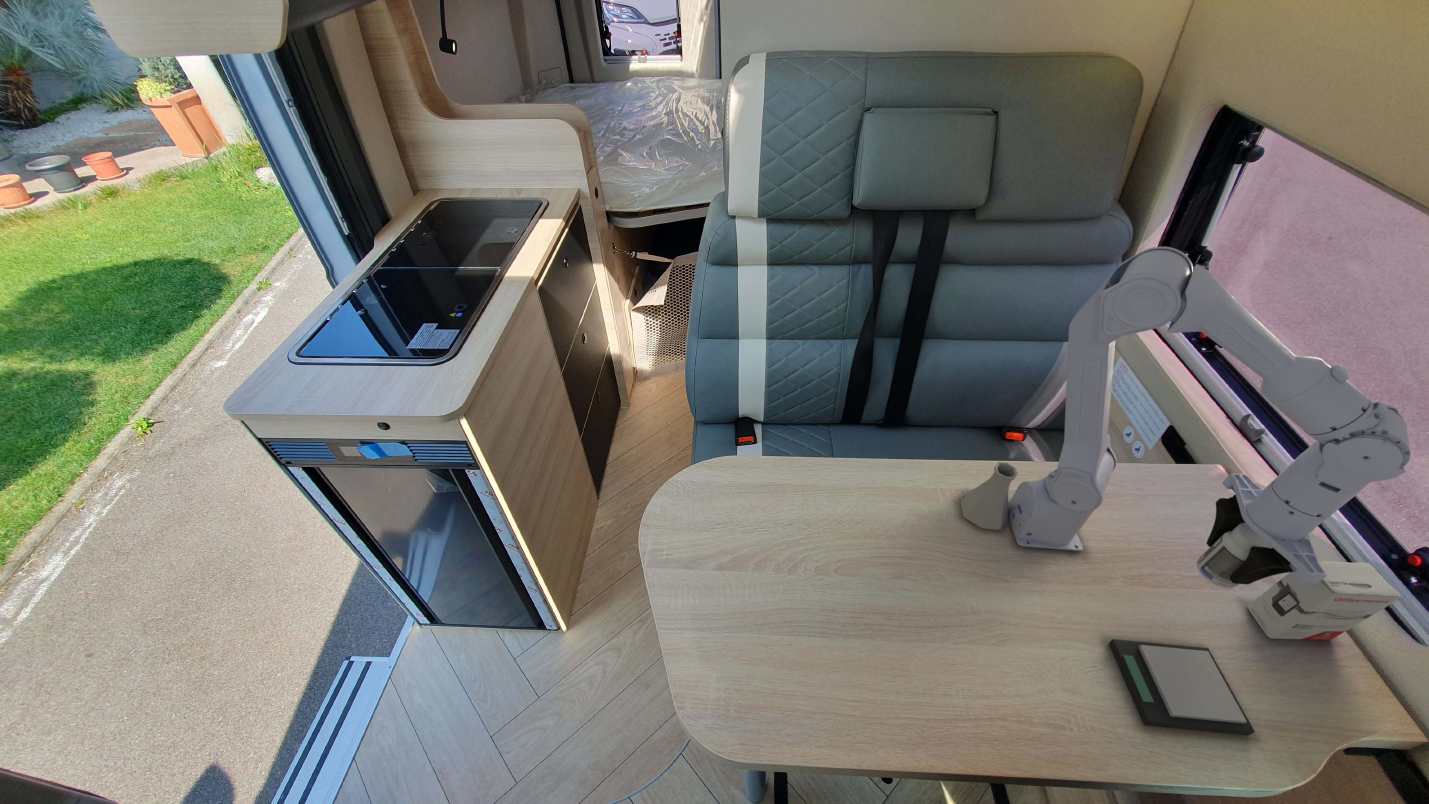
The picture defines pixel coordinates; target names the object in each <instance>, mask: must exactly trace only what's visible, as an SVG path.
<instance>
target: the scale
mask: <svg viewBox="0 0 1429 804" xmlns="http://www.w3.org/2000/svg"><path fill="white" fill-rule="evenodd" d="M1108 644H1109V647H1110V649H1111V652H1112V654H1113V656H1114V659H1115V661H1116V663H1117V665H1118V669H1119V671H1120V673H1121V675H1122V677H1123V679H1124V682H1125V685H1126V687H1127V689H1128V691H1129V694H1130V696H1131V698H1132V701H1133V703H1134V705H1135V708H1136V710H1137V712H1138V714H1139V717H1140V719H1141V721H1142V724H1143V726H1148V727H1149V726H1150V727H1161V728H1162V727H1163V728H1171V729H1181V730H1190V731H1201V732H1212V733H1221V734H1231V735H1241V736H1251V735H1252V734H1254V733H1256V731H1255V730H1254V727H1253V726H1252V724H1251V722H1250V720H1249V718H1248V717H1247V715H1246V714H1245V713H1246V712H1245V711H1244V710H1243V708H1242V706H1241V704H1240V703H1239V701H1238V699H1237V697H1236V695H1235V694H1234V692H1233V690H1232V688H1231V686H1230V684H1229V683H1228V681H1227V679H1226V678H1225V676H1224V673H1223V672H1222V670H1221V668H1220V666H1219V665H1218V663H1217V660H1216V659H1215V658H1214V656H1213V654H1212V652H1211V650H1210V649H1209V648H1208V647H1203V646H1194V645H1193V646H1192V645H1183V644H1172V643H1160V642H1150V641H1149V642H1148V641H1139V640H1129V639H1117V638H1112V639H1111V640H1110V641H1109V642H1108Z"/></svg>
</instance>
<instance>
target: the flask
mask: <svg viewBox="0 0 1429 804" xmlns="http://www.w3.org/2000/svg"><path fill="white" fill-rule="evenodd" d="M993 470H994V472H993V474H992V475H991V476H990V477H989V478H988V479H987V480H985V481H984V482H982V483H981V484H980V485H978V486H976V487H975V488H973V489H971V490H969V492H967V494H966V495H965V496H964V498H962V500H961V501H960V508H961V512H962V516H963V518H964V519H966V520H968V521H969V522H971V523H973V524H974V525H975V526H977V527H979V528H980V529H986V530H995V531H1001V530H1002V528H1004V527H1005V525H1006V523H1007V521H1009V518H1008V503H1009V491H1010V487H1011V483H1012V482H1013V481H1014V480H1015V479H1016V478H1017V476H1018V474H1019V473H1018V470H1017V468H1016V466H1014V465H1011V463H1008V462H1002V461H998V462H997V463H996V464H995V465H994V467H993Z"/></svg>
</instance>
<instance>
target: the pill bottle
mask: <svg viewBox="0 0 1429 804" xmlns="http://www.w3.org/2000/svg"><path fill="white" fill-rule="evenodd" d="M1252 546H1255V547H1268V548H1273V547H1272V546H1271V545H1270V544H1268V543H1267V542H1266V541H1265V540H1264V539H1263V538H1261V537H1260V536H1259V535H1258V534H1257V533H1256V532H1255V531H1253V530H1252V529H1251V528H1250V527H1249V526H1248V525H1247V524H1246V523H1241V524H1239V525H1238V526H1237V527H1236V528H1235V529H1234V530H1233V531H1228V532H1226V533H1225V534H1223V535H1222V536H1221V537H1220V538H1219V539H1218V540H1217V541H1216V542H1215V543H1214V544H1213V545H1212V546H1211V547H1208V549H1207V550H1206V551H1205V552H1204V553H1202V554H1201V556H1199V558H1198V559H1197V560H1196V568H1197V570H1198V572H1199V573H1200V575H1201V576H1202V578H1204V579H1205V580H1207V582H1209V583H1211V584H1213V585H1215V586H1218V587H1219V588H1224V589H1231V588H1236V587H1237V586H1239V584H1235V583H1232V581H1231V580H1230V576H1231V575H1232V574H1233V573H1234V572H1235V571H1236V570H1237V569H1238V568H1239V567H1240V566H1241V565H1242V564H1243V563H1244V562H1245V560H1246V559H1247V557H1248V555H1249V552H1250V548H1251V547H1252Z"/></svg>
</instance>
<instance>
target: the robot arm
mask: <svg viewBox="0 0 1429 804" xmlns="http://www.w3.org/2000/svg"><path fill="white" fill-rule="evenodd" d="M1169 323H1170V324H1169ZM1167 324H1169V326H1168V329H1167V333H1170V334H1181V333H1195V332H1197V333H1198V332H1200V333H1202V334H1204V335H1205V336H1206V337H1207V338H1209V339H1210V340H1211V341H1213V342H1214V343H1216V344H1217V345H1218V346H1219V347H1221V348H1222V349H1224V350H1225V351H1226V352H1228V354H1229V355H1231V356H1233V357H1234V358H1235V359H1237V361H1239V362H1240V363H1242V364H1243V365H1244V366H1246V367H1247V368H1249V370H1251V371H1253V373H1255V374H1256V375H1258V376H1259V377H1260V378H1262V380H1261V385H1260V395H1261V396H1262V397H1264V398H1265V399H1266V400H1267V401H1268V402H1269V403H1271V404H1272V405H1273V406H1274V407H1275V408H1276V409H1278V411H1279V412H1281V413H1282V414H1283V415H1284V416H1285V417H1287V418H1288V419H1289V420H1290V421H1291V422H1293V424H1295V425H1296V426H1297V427H1298V428H1299V429H1300V430H1302V431H1303V432H1304V433H1305V434H1306V435H1308V437H1310V438H1311V439H1313V440H1314V442H1312V444H1311V445H1310V446H1309V447H1307V448H1306V449H1305V450H1304V451H1303V452H1301V453H1300V454H1299V455H1298V456H1297V457H1296V458H1295V459H1293V460H1292V462H1291V463H1290V464H1288V465H1287V467H1285V468H1284V469H1283V470H1281V472H1280V473H1279V474H1278V475H1277V476H1276V477H1275V478H1274V479H1273V480H1272V481H1271V482H1270V483H1269V484H1267V485H1266V486H1265V487H1264V488H1262V487H1261V486H1259V485H1258V484H1257V483H1256V482H1254V481H1253V480H1252V478H1250V476H1249V475H1248V474H1247V473H1234V472H1233V473H1232V472H1230V474H1229V475H1228V476H1226V478H1225V479H1224V480H1223V481H1222V482H1221V484H1222V485H1223V486H1224V488H1225V489H1227V490H1232V492H1233V493H1234V494H1233V495H1232V496H1230V497H1228V498H1227V497H1220V498H1218V499H1217V501H1215V517H1214V518H1215V519H1214V523H1213V526H1212V529H1211V531H1210V534H1209V536H1208V537H1207V540H1206V545H1207V547H1208V548H1210V547H1211V546H1212V545H1213V544H1214V543H1215V542H1216V541H1217V540H1218V539H1219V538H1220V537H1221V536H1222V535H1223V534H1225V533H1226V532H1228V531H1233V530H1234V529H1235V528H1236V527H1237V526H1238V525H1239V524H1241V523H1246V524H1247V525H1248V526H1249V527H1250V528H1251V529H1252V530H1253V531H1255V532H1256V533H1257V534H1258V535H1259V536H1260V537H1261V538H1263V539H1264V540H1265V541H1266V542H1267V543H1268V544H1270V545H1271V546H1272V547H1273V548H1268V547H1255V546H1252V547H1251V548H1250V552H1249V555H1248V557H1247V559H1246V560H1245V562H1244V563H1243V564H1242V565H1241V566H1240V567H1239V568H1238V569H1237V570H1236V571H1235V572H1234V573H1233V574H1232V575H1231V576H1230V580H1231V581H1232V583H1235V584H1238V585H1251V584H1252V583H1255V582H1257V581H1260V580H1264V579H1265V578H1269V577H1273V576H1276V575H1281V574H1289V573H1290V572H1295V573H1294V574H1292V577H1293V578H1294V580H1295V581H1296V582H1297V583H1303V584H1316V583H1318V582H1319V581H1320V580H1322V579H1323V578H1325V577H1326V576H1327V574H1326V573H1325V572H1324V570H1323V569H1322V567H1321V565H1320V563H1319V561H1320V560H1319V559H1318V557H1317V554H1316V551H1315V549H1314V545H1313V543H1312V540H1311V538H1310V536H1309V534H1310V533H1312V532H1313V531H1315V530H1316V528H1317V527H1319V526H1320V525H1321V524H1322V523H1323V522H1325V521H1326V520H1327V519H1328V518H1329V517H1331V516H1332V515H1334V514H1335V513H1336V512H1337V511H1338V510H1339V509H1341V508H1342V507H1344V506H1345V505H1346V504H1347V503H1349V502H1350V501H1351V500H1352V499H1353V498H1355V497H1356V496H1357V495H1358V494H1359V493H1360V492H1361V491H1363V490H1364V489H1365V488H1366V487H1367V486H1368V485H1370V484H1371V483H1375V482H1382V481H1389V480H1391V479H1395V478H1397V477H1399V476H1402V475H1403V474H1404V473H1406V470H1405V467H1406V466H1407V464H1409V461H1410V459H1411V447H1410V439H1409V432H1408V426H1407V423H1406V421H1405V419H1404V417H1403V416H1402V414H1401V413H1400V412H1399V409H1398V408H1397V407H1396V406H1393V405H1391V404H1388V403H1385V402H1382V401H1379V400H1378V401H1375V400H1371V399H1370V398H1369V397H1367V396H1366V395H1365V394H1364V393H1363V392H1362V391H1361V390H1359V389H1358V388H1356V387H1355V386H1354V385H1353V384H1351V382H1350V381H1348V380H1349V377H1350V375H1349V371H1348V370H1347V369H1346V368H1345V367H1343V366H1342V365H1341V364H1335V365H1333V366H1330V365H1329V363H1327V362H1326V361H1324V359H1322V358H1321V357H1315V356H1300V355H1295V354H1294V353H1293V352H1292V351H1291V350H1290V349H1289V348H1288V347H1287V346H1286V345H1285V344H1283V342H1281V340H1280V339H1278V337H1276V335H1274V334H1273V333H1272V332H1271V331H1270V329H1268V328H1267V327H1266V326H1265V325H1264V324H1262V322H1260V321H1259V320H1258V319H1257V318H1256V317H1255V315H1253V314H1252V313H1251V312H1250V311H1249V310H1248V309H1246V307H1245V306H1244V305H1242V304H1241V303H1240V301H1238V300H1237V299H1236V298H1235V297H1234V296H1233V295H1232V294H1231V293H1230V292H1229V291H1228V290H1226V289H1225V287H1223V286H1222V284H1221V283H1220V282H1219V281H1218V280H1217V279H1216V278H1215V276H1213V275H1212V273H1210V271H1209V270H1208V269H1206V268H1205V267H1203V266H1201V265H1200V264H1198V263H1196V264H1195V266H1193V263H1192V261H1191V259H1190V257H1189V256H1188V255H1186V253H1185V252H1183V251H1181V250H1179V249H1177V248H1174V247H1171V246H1154V247H1149V248H1146V249H1144V250H1142V251H1140V252H1138V253H1136V254H1135V255H1134V256H1131V257H1129V258H1127V259H1126V260H1124V261H1123V262H1121V263H1119V264H1118V265H1117V266H1116V267H1115V268H1114V270H1113V271H1112V273H1110V275H1108V277H1107V278H1106V279H1105V280H1104V281H1103V283H1102V284H1101V285H1100V286H1099V287H1098V288H1097V289H1096V290H1095V291H1094V292H1093V293H1092V295H1091V296H1090V297H1089V298H1088V299H1087V300H1086V301H1085V302H1084V303H1083V305H1082V306H1081V307H1080V308H1079V309H1078V310H1077V311H1076V313H1075V314H1074V316H1073V318H1072V319H1071V321H1070V322H1069V326H1068V336H1067V337H1068V338H1067V339H1068V340H1067V361H1066V362H1067V364H1066V384H1065V385H1066V386H1065V387H1066V388H1065V409H1064V410H1065V411H1064V433H1063V435H1064V436H1063V445H1062V448H1061V452H1060V456H1059V459H1058V463H1057V468H1056V469H1054V470H1053V471H1051V472H1049V473H1048V474H1047V476H1044V477H1043V478H1041V479H1037V480H1032V481H1031V480H1029V481H1022V482H1021V483H1020V484H1019V485H1018V487H1017V488H1016V490H1015V491H1014V493H1013V495H1012V496H1011V498H1010V500H1009V501H1008V521H1009V524H1010V527H1011V530H1012V533H1013V536H1014V538H1015V540H1016V544H1017V545H1018V546H1019V547H1024V548H1037V549H1048V550H1049V549H1050V550H1059V551H1060V550H1061V551H1073V552H1082V551H1084V546H1083V544H1082V542H1081V540H1080V538H1079V536H1078V533H1079V531H1080V530H1081V528H1082V527H1083V526H1084V525H1085V523H1086V522H1087V521H1088V520H1089V518H1090V516H1092V514H1093V513H1094V511H1095V510H1097V509H1098V508H1100V506H1101V504H1102V502H1103V499H1104V493H1105V491H1106V488H1107V486H1108V483H1109V481H1110V478H1111V476H1112V472H1114V470H1115V468H1116V467H1117V463H1118V460H1117V456H1116V454H1115V452H1114V451H1113V449H1112V446H1111V436H1110V435H1109V423H1110V422H1109V421H1110V411H1111V400H1112V399H1111V398H1112V387H1113V377H1114V376H1113V375H1114V362H1115V351H1116V350H1115V349H1116V341H1117V340H1119V339H1121V338H1122V337H1124V336H1129V335H1133V334H1138V333H1144V332H1148V331H1152V330H1156V329H1159V328H1161V327H1164V326H1165V325H1167Z"/></svg>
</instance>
